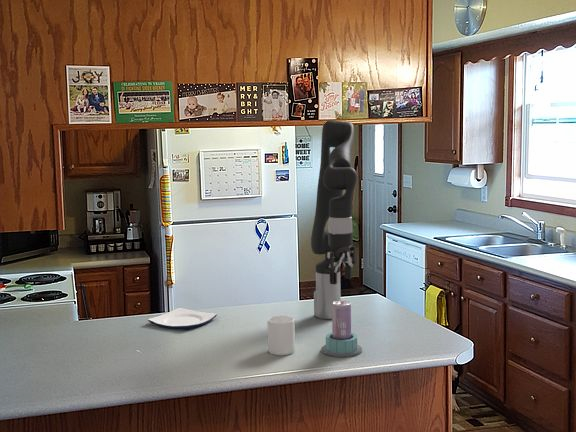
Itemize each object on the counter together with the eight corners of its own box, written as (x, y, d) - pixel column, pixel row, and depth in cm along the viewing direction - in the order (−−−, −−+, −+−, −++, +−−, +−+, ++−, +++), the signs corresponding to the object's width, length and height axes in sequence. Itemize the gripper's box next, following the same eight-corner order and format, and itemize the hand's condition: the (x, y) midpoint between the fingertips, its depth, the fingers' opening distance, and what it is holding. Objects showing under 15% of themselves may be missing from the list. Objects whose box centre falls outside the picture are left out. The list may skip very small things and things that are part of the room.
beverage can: (351, 345, 233) (351, 300, 231) (351, 351, 227) (350, 305, 225) (333, 345, 233) (332, 300, 231) (332, 351, 227) (331, 305, 225)
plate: (221, 320, 270) (221, 313, 269) (187, 334, 252) (186, 326, 252) (179, 313, 280) (179, 306, 280) (143, 326, 263) (143, 319, 263)
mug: (290, 343, 239) (290, 312, 237) (297, 355, 227) (296, 322, 225) (265, 345, 237) (264, 313, 236) (270, 356, 225) (269, 323, 224)
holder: (313, 352, 229) (313, 338, 228) (335, 342, 239) (335, 328, 238) (348, 360, 221) (348, 345, 220) (369, 349, 231) (369, 334, 231)
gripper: (342, 226, 232) (342, 275, 235) (317, 233, 221) (318, 284, 223) (362, 228, 228) (362, 278, 230) (338, 235, 217) (338, 287, 219)
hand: (340, 281), depth 227 cm, fingers open, 8 cm apart
